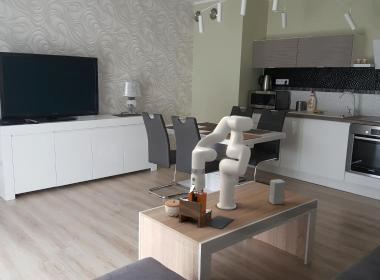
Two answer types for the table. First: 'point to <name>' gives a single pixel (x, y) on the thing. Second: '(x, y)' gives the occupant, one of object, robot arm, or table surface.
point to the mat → (219, 222)
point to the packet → (200, 199)
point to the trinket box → (172, 207)
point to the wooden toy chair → (193, 212)
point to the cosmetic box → (277, 191)
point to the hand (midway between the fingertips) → (197, 200)
